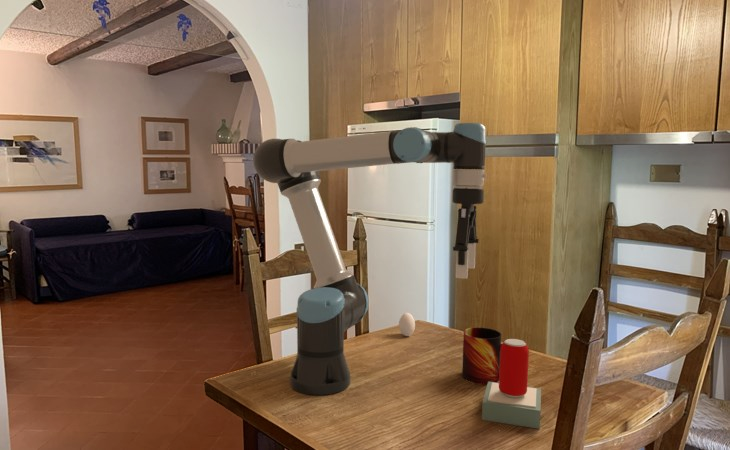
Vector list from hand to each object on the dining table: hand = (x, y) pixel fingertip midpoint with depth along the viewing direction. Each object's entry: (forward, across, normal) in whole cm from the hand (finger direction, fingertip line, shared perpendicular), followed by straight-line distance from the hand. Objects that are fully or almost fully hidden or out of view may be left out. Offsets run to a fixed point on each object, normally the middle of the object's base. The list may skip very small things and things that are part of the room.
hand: (465, 273), depth 132 cm
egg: (+29, +33, +23) cm, 50 cm away
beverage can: (+25, -12, -13) cm, 30 cm away
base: (+29, -12, -13) cm, 34 cm away
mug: (+29, +7, -6) cm, 30 cm away
